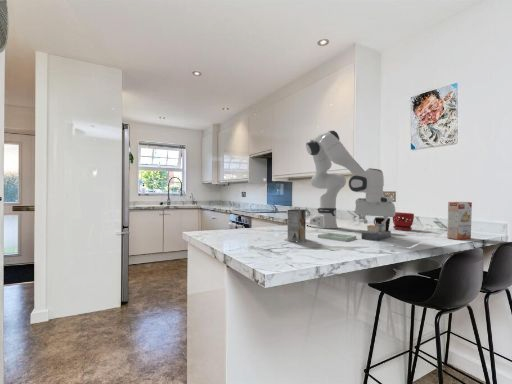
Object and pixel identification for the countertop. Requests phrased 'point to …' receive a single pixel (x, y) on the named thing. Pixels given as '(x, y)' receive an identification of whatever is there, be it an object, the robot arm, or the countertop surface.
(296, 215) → the coffee box
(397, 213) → the plant pot
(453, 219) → the cracker box
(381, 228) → the twin plug
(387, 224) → the coffee mug
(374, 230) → the plug
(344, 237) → the tray
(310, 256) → the countertop surface
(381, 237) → the power strip
